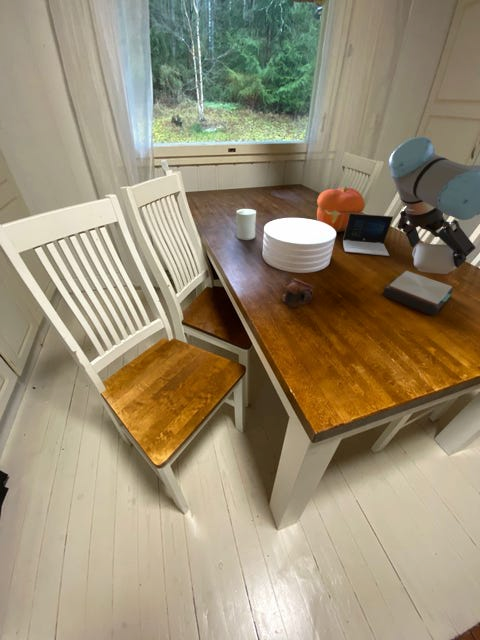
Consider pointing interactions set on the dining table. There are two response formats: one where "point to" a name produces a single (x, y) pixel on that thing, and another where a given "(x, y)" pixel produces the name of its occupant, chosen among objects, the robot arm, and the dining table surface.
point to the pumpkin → (338, 207)
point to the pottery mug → (293, 290)
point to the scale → (418, 292)
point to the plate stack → (298, 244)
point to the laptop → (366, 234)
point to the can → (246, 224)
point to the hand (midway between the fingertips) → (436, 252)
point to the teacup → (433, 258)
